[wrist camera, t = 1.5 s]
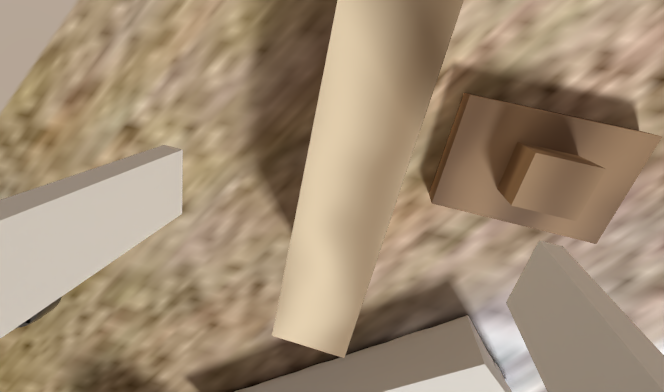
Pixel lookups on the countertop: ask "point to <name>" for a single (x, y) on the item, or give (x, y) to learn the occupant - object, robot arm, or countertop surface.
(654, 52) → the countertop surface
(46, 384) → the countertop surface
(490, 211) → the fulcrum
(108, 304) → the countertop surface
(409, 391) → the decorative molding
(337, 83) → the beam
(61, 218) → the robot arm
